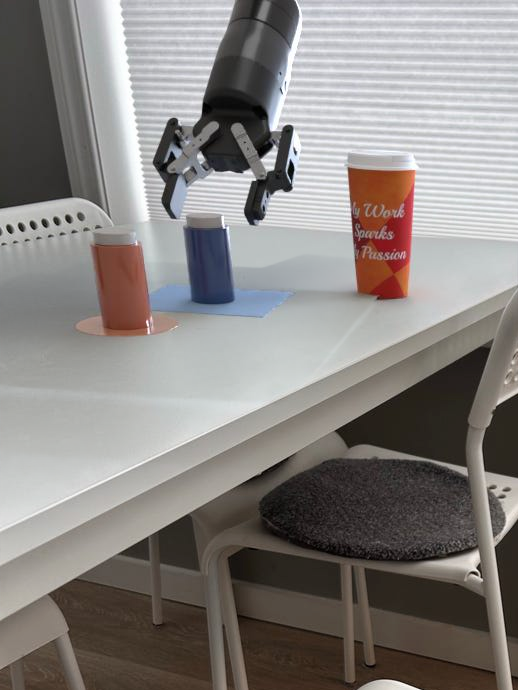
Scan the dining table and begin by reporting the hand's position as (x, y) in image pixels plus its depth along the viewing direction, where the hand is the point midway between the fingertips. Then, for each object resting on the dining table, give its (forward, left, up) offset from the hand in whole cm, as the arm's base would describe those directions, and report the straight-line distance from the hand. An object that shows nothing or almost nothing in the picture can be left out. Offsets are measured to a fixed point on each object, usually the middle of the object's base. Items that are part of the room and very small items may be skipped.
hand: (210, 217), depth 94 cm
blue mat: (0, -1, -8) cm, 8 cm away
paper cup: (+16, +9, -8) cm, 20 cm away
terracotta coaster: (-4, -13, -8) cm, 16 cm away
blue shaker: (0, -1, -8) cm, 8 cm away
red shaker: (-4, -13, -8) cm, 16 cm away
